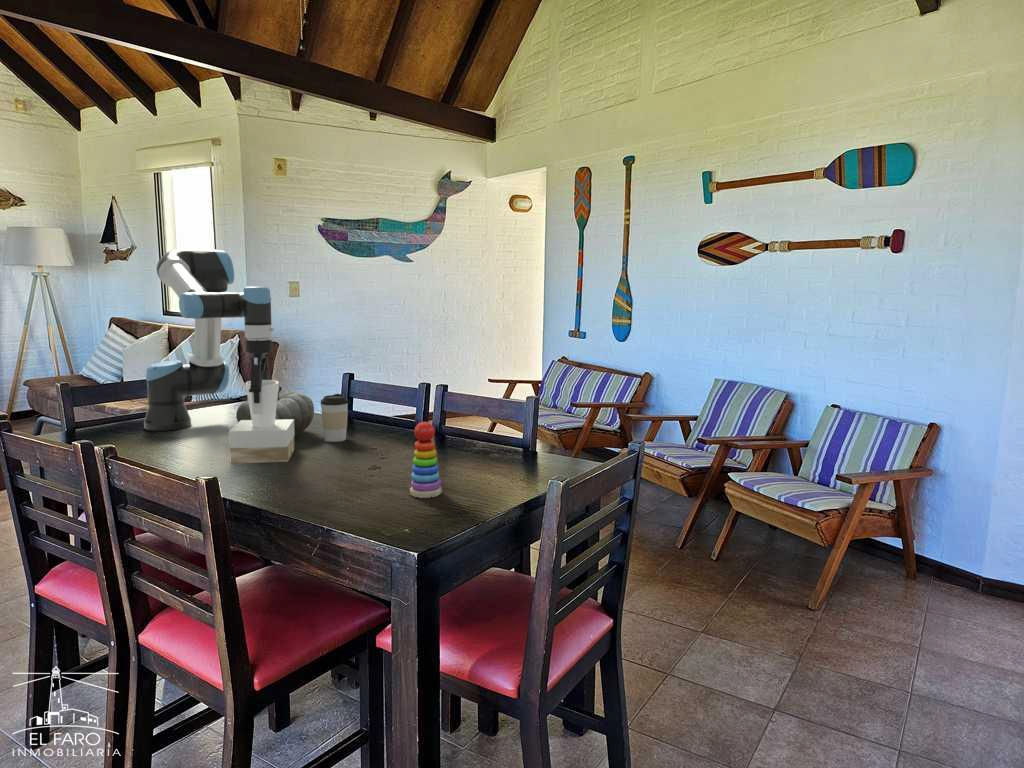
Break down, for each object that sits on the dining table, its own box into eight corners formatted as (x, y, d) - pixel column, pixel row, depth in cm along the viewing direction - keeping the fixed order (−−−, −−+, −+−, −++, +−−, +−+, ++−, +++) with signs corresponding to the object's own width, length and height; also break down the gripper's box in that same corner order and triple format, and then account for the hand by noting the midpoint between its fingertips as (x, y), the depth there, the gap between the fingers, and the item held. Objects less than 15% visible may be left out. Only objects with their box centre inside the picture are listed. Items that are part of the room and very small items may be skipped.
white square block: (241, 435, 215) (240, 420, 214) (294, 434, 218) (294, 419, 217) (229, 448, 199) (228, 431, 199) (286, 446, 202) (286, 430, 201)
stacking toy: (410, 489, 177) (410, 418, 175) (442, 489, 178) (441, 418, 175) (409, 499, 170) (408, 425, 167) (441, 499, 170) (441, 425, 167)
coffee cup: (341, 443, 226) (340, 398, 224) (316, 441, 228) (315, 397, 225) (353, 437, 235) (352, 393, 232) (329, 435, 236) (327, 392, 234)
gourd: (329, 430, 232) (317, 380, 229) (256, 452, 218) (242, 400, 215) (304, 424, 252) (293, 379, 250) (235, 445, 238) (222, 396, 236)
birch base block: (241, 451, 215) (240, 436, 215) (294, 450, 218) (294, 434, 218) (230, 465, 200) (230, 448, 199) (288, 463, 203) (287, 446, 202)
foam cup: (285, 425, 208) (284, 383, 205) (257, 430, 201) (255, 386, 199) (269, 419, 214) (268, 378, 212) (241, 424, 207) (239, 382, 205)
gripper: (265, 343, 192) (268, 417, 195) (278, 335, 216) (280, 401, 220) (237, 343, 191) (240, 418, 194) (252, 335, 215) (255, 402, 218)
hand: (261, 409), depth 207 cm, fingers open, 13 cm apart
